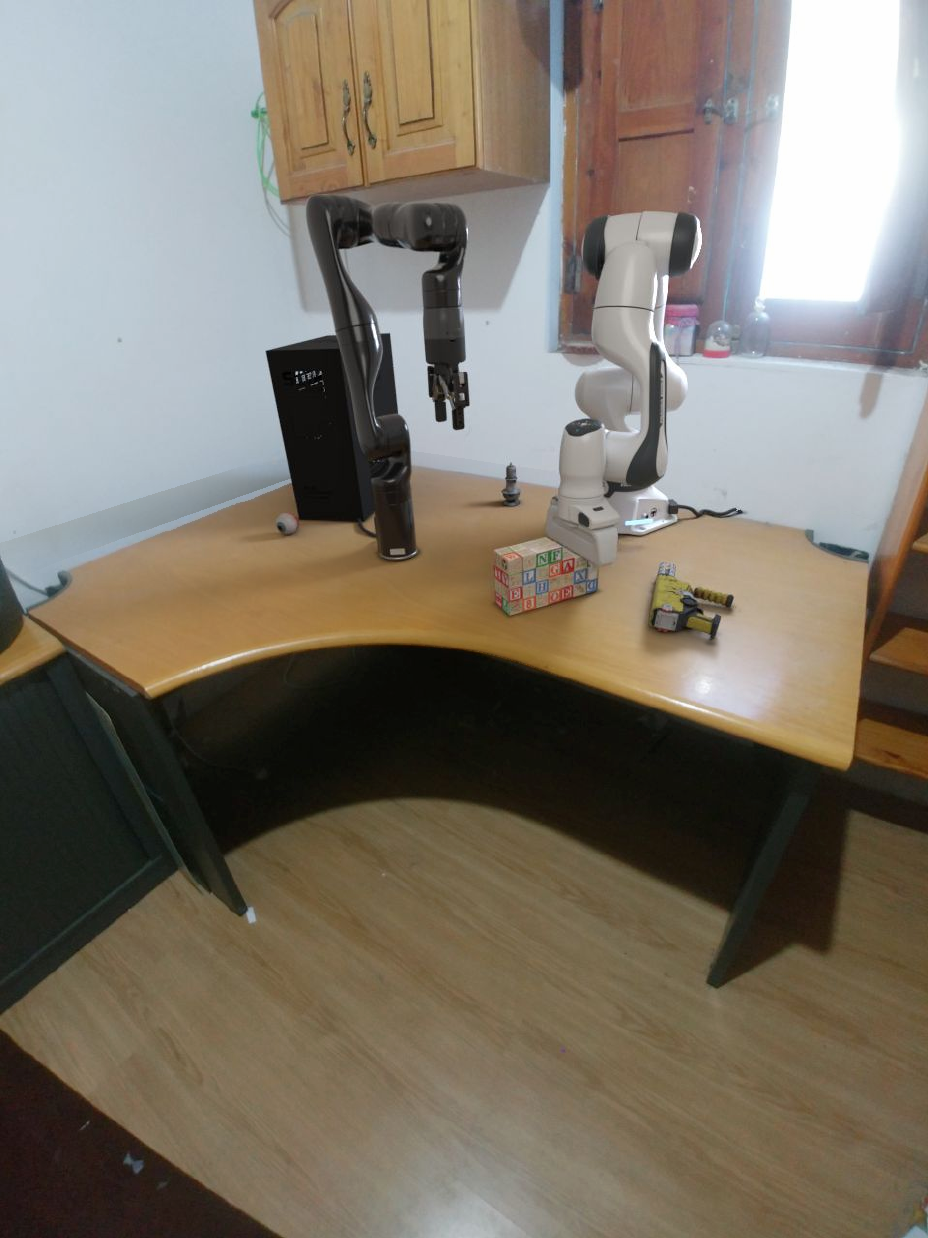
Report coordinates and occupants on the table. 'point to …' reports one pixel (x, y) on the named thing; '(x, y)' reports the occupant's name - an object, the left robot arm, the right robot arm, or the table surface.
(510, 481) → the grey chess piece
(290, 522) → the eyeball
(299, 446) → the black computer tower
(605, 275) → the right robot arm
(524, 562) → the stack of blocks
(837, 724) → the table surface
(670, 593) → the toy gun
